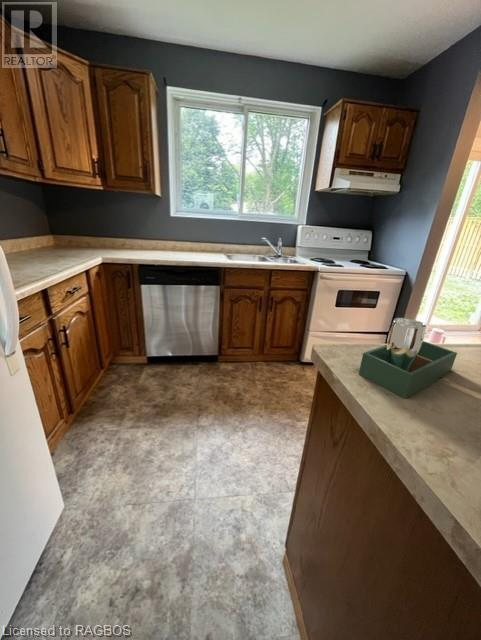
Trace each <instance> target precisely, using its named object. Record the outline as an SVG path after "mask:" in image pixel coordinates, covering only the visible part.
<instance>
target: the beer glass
mask: <svg viewBox="0 0 481 640" xmlns="http://www.w3.org/2000/svg"><path fill="white" fill-rule="evenodd" d="M426 329H427V324H425V323H424V322H422V321H420V320H418V319H413V318H408V317H395V318H394V319H393V321H392V323H391V326H390V328H389V332H388V335H387V339H386V345H387V350H386V362H388V363H390V364H392V365H394V366H397V367H399V368H401V369H403V370H405V371H408V372H409V371H410V368H411V366H412V364H413V362H414V360H415V359H416V357H417V355H418V353H419V351H420V349H421V346H422V343H423V341H425V340H424V339H425V334H426Z"/></svg>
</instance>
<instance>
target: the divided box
mask: <svg viewBox="0 0 481 640" xmlns="http://www.w3.org/2000/svg"><path fill="white" fill-rule="evenodd" d="M386 350H387V344H384V345H382V346H379V347H376V348H373V349H370V350H367V351H364V352H362V358H361V362H360V365H359V370H358V375H359V376H362V377H363V378H365V379H367V380H369V381H371V382H373V383H374V384H377V385H378V386H380V387H382V388H383V389H385V390H387V391H389V392H391V393H393V394H395V395H397V396H399V397H400V398H402V399H404V400H405V399H407V398H409V397H410V396H413V395H414V394H416V393H417V392H420V391H421V390H423V389H425V388H426V387H428V386H430V385H432V384H434V383H435V382H437V381H439V380H441V379H442V378H443V375H445V374H447V373H449V372H451V371H452V369H453V366H454V363H455V360H456V358H457V355H458V352H456V351H453V350H450V349H448V348H445V347H442V346H439V345H437V344H433V343H431V342H428V341H425V340H423V343H422V346H421V349H420V351H419V353H418V355H417V357H416V359H415V360H414V362H413V364H412V366H411V368H410V371H409V372H408V371H405V370H403V369H401V368H399V367H397V366H394V365H392V364H390V363H388V362H386Z"/></svg>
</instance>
